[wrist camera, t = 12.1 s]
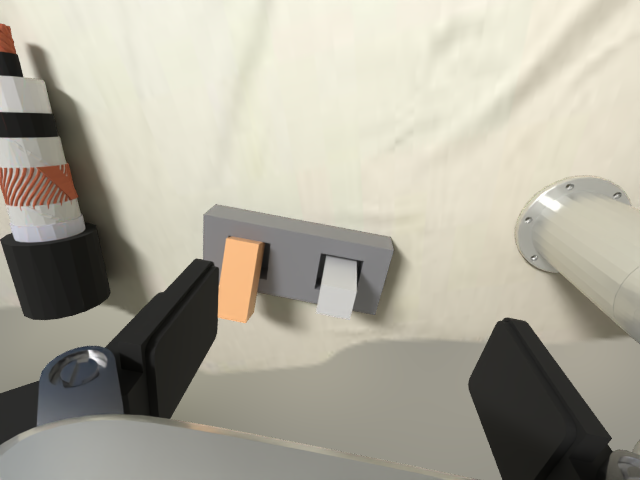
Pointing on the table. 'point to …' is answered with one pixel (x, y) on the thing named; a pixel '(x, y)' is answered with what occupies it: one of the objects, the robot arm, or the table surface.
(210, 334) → the robot arm
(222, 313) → the plug
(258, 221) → the power strip
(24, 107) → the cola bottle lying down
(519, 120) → the table surface
